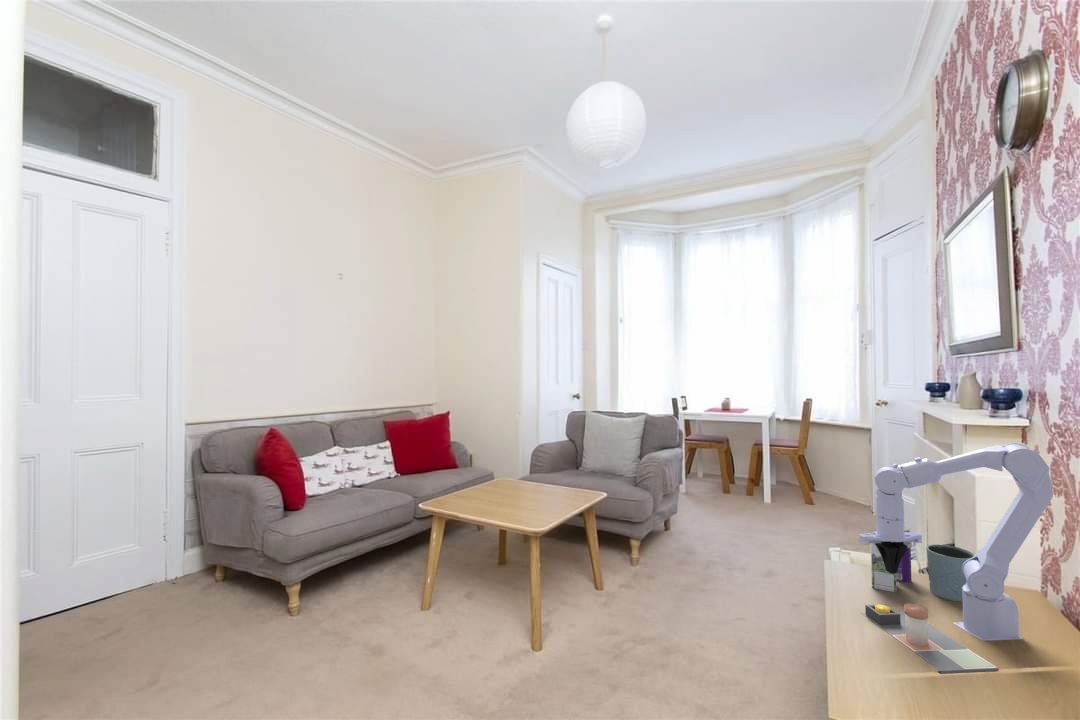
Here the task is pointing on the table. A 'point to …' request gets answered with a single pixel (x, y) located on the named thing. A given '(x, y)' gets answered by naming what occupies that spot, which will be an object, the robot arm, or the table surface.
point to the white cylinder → (916, 624)
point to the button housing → (883, 616)
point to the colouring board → (941, 650)
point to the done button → (882, 609)
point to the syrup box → (881, 572)
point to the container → (905, 564)
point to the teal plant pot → (947, 570)
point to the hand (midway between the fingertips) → (891, 571)
